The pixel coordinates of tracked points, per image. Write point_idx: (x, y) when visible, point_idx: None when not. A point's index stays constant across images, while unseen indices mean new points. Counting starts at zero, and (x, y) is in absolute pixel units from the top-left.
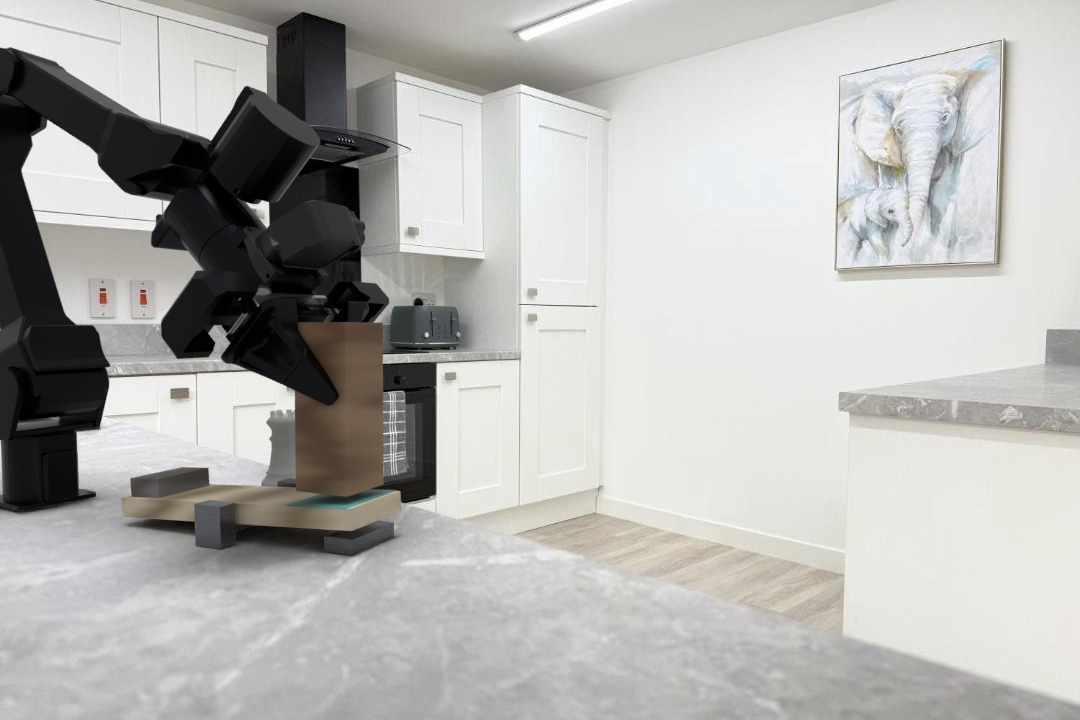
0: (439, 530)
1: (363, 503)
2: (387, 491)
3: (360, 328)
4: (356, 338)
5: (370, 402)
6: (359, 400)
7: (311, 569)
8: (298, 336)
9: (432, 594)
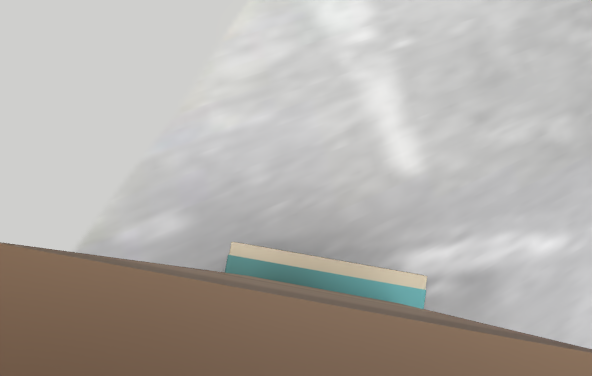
0: (198, 187)
1: (369, 272)
2: (243, 270)
3: (366, 309)
4: (417, 316)
5: (281, 284)
6: (356, 298)
7: (490, 318)
8: None
9: (544, 67)
